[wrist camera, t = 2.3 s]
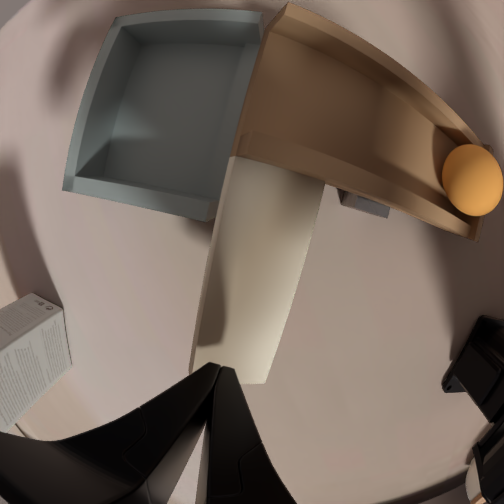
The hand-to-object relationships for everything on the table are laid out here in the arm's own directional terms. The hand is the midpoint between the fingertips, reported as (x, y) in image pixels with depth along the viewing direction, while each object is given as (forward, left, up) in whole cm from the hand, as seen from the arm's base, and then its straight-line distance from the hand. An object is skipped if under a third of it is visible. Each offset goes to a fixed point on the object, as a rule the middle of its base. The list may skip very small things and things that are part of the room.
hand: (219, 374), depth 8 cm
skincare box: (+15, +8, -7) cm, 18 cm away
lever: (-4, -5, -4) cm, 8 cm away
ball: (-9, -9, -3) cm, 13 cm away
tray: (+6, -9, -7) cm, 13 cm away
